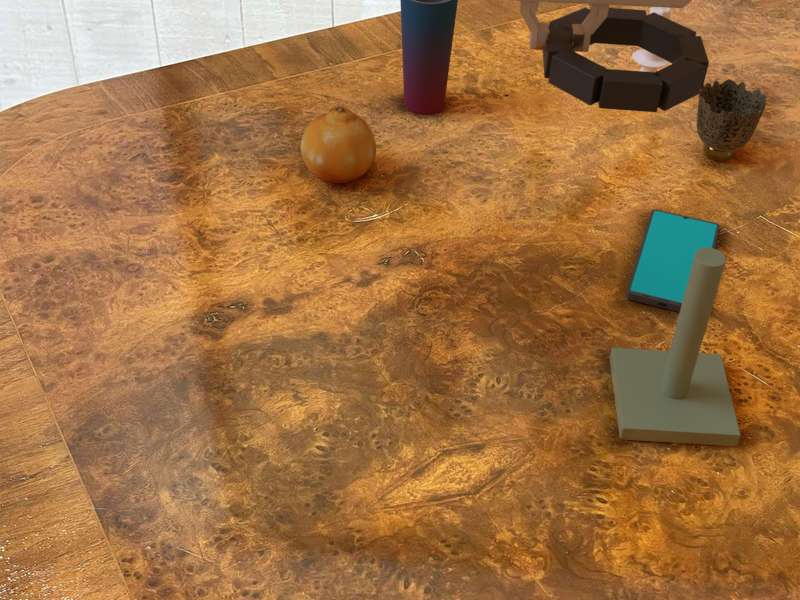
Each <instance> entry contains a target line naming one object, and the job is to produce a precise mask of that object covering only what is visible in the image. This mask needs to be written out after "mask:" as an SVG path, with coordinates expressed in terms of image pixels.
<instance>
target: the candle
mask: <svg viewBox="0 0 800 600" xmlns="http://www.w3.org/2000/svg"><path fill="white" fill-rule="evenodd" d="M653 12H654V13H657V14H659V15H661V16H663V17H665V18H667V19H669V20H671V14H672V13H671V12H672V8H665V7H650V9H649V13H648V15H649V14H651V13H653ZM631 57H632V60H633V61H634V62H635V63H636V64H638V65H640V66H641V68H640V69H639V70H638V71H643V72H656V71H658V70H657V69H659V68H664V67H667V66H669V64H670V62H668V61H666V60H664V59H662V58H660V57H658V56H656V55H654V54H652V53H650V52H648V51H646V50H644V49H642V48H641V49H637V50H636V51H634V52H633V53H632V54H631Z"/></svg>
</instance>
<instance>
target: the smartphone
mask: <svg viewBox="0 0 800 600" xmlns="http://www.w3.org/2000/svg"><path fill="white" fill-rule="evenodd" d="M720 226H721V225H720V223H718V222H713V221H709V220H705V219H701V218H697V217H692V216H687V215H682V214H678V213H673V212H668V211H665V210H661V209H655V208H653V209H652V210H651V212H650V215H649V219H648V221H647V225H646V228H645V231H644V235H643V237H642V241H641V244H640V248H639V251H638V254H637V257H636V260H635V263H634V266H633V270H632V273H631V276H630V279H629V283H628V286H627V288H626V293H625V298H626V299H627V300H630V301H633V302H634V301H635V302H638V303H643V304H646V305H649V306H654V307H659V308H662V309H667V310H670V311H674V312H679V313H680V309H681V306H682V302H683V298H684V294H685V291H686V287H687V283H688V279H689V276H690V272H691V268H692V264H693V261H694V257H695V253H696V252H697V251H698V250H699V249H701V248H713V249H716V248H717V244H718V240H719V239H718V237H719V231H720ZM716 250H717V249H716Z"/></svg>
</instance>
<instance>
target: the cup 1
mask: <svg viewBox="0 0 800 600" xmlns="http://www.w3.org/2000/svg"><path fill="white" fill-rule="evenodd" d="M399 2H400V26H401V27H400V28H401V53H402V55H401V57H402V79H403V80H402V81H403V82H402V83H403V104H404V107H405V108H406V109H407V110H408V111H409V112H411V113H414V114H417V115H433V114H436V113H439V112H441V111H442V110H443V109H444V107H445V103H446V96H447V87H448V81H449V74H450V73H449V72H450V65H451V58H452V49H453V42H454V34H455V25H456V18H457V10H458V4H459V3H458V2H459V0H400V1H399Z"/></svg>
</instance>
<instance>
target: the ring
mask: <svg viewBox="0 0 800 600" xmlns="http://www.w3.org/2000/svg"><path fill="white" fill-rule="evenodd" d="M589 13H590V8H588V7H583V8H580V9H578V10H575V11H573V12H570V13H567V14H566V15H563V16H560V17H557V18H556V19H553V20H550V21H549V22H548V23H549V40H548V41H547V50H542V62H543V74H544V75H543V77H544V79H547V80H548V84H550V85H552V86H553V87H555V88H557V89H559V90H560V91H563V92H565V93H566V94H568V95H570V96H571V97H574V98H575V99H576V100H578V101H581V102H583V103H584V104H586V105H588V106H593V105H595V104H598V108H599V109H603V110H618V111H629V112H630V111H631V112H632V111H634V112H644V113H657V112H658V109H659V110H661V111H664V112H667V111H668V110H670V109H672V108H675V107H676V106H678V105H681V104H682V103H684V102H686V101H688V100H690V99H692V98H694V97H696V96H699V94H700V91H701V90H702V88H703V85H704V84H705V81H706V76H707V73H708V68H709V65H710V61H709V58H708V55H707V52H706V48H705V45H704V41H703V38H702V36H701V35H697V31H695V30H692V29H691V28H689V27H687V26H684V25H682V24H680V23H678V22H675V21H674V20H672V19H670V20H669V19H667V18H665V17H663V16H661V15H659V14H657V13H654V12H653V13H651V14H649V13H648V14H647V10H645V9H635V8H633V9H632V8H618V7H609V10H608V16H607V18H606V19H605V20H604V21H603V22H602V24H601V25H600V26H599V27H598V28H597V30H596V31H595V32H594V33H593V34H591V37H590V44H589V46H592V45H594V44H601V45H616V46H627V47H629V46H631V47H638V48H641V49H644V50H646V51H648V52H650V53H652V54H654V55H656V56H658V57H660V58H662V59H664V60H666V61H668V62H669V64H670V63H671V64H670V65H669V64H668V65H666V66H664V67H662V68H660V69H659V70H657V71H656V72H643V71H639V70H628V69H612V68H606V67H604V66H603V65H601V64H599V63H597V62H596V61H593V60H592V59H589V58H588V57H586V56H584V55H582V54H580V53H579V52H576V51H573V50H572V41H571V27H572V24H582V22H583V21H584V20H585V18H586V17H587V16H588V14H589Z"/></svg>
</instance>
